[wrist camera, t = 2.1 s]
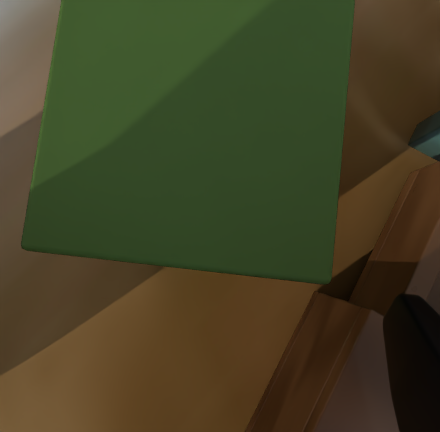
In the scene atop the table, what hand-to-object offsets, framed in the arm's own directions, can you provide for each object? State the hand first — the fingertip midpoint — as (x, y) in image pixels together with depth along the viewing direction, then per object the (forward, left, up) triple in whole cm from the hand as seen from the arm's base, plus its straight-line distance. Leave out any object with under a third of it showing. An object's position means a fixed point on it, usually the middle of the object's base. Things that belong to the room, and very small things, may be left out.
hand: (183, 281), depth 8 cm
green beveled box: (+3, -1, -10) cm, 11 cm away
